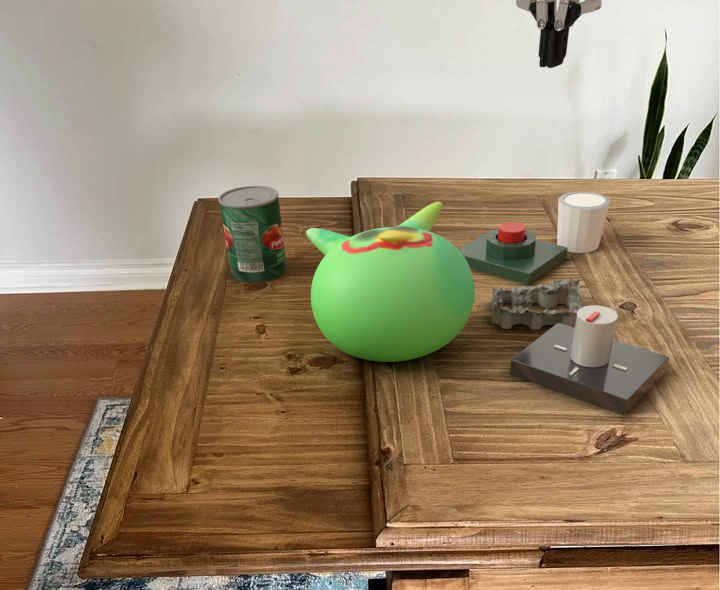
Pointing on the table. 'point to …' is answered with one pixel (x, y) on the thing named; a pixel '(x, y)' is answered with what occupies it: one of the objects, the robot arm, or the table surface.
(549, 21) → the robot arm
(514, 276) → the button housing
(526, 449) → the table surface
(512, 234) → the button
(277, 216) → the canned tomato
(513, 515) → the table surface
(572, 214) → the white cup
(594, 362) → the knob
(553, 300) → the egg carton
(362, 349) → the toy bird
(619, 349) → the dial base plate
